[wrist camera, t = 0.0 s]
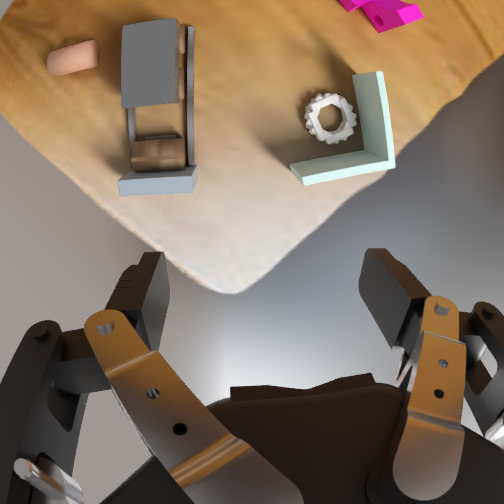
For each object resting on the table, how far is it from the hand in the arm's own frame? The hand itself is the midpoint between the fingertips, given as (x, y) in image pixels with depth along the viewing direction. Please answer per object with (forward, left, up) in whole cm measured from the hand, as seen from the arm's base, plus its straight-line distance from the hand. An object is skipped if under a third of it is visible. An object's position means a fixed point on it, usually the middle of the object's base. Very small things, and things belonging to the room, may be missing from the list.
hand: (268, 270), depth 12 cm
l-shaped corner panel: (-4, +11, -30) cm, 32 cm away
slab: (-11, -10, -26) cm, 30 cm away
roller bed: (-8, -10, -30) cm, 32 cm away
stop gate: (+3, -10, -30) cm, 32 cm away
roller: (-15, -22, -30) cm, 40 cm away
